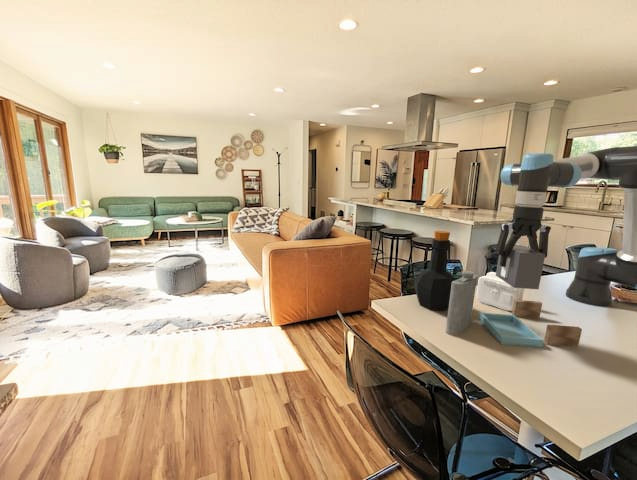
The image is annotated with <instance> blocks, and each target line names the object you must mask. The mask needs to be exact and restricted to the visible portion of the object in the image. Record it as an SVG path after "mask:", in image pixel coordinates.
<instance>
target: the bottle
mask: <svg viewBox="0 0 637 480" xmlns="http://www.w3.org/2000/svg"><path fill="white" fill-rule="evenodd" d="M450 235H451V231H449V230H448V231H445V230H434V238H433V239H432V241H431V247H432V248H433V249H432V253H431V256H430V265H429V269H426V270H424V271H421V272H420V273H419V274H418V275H417V276H416V277H415V279H414V283H413V284H414V285H413V286H414V291H415V293H416V298H417V302H418V304H419V306H420V307H423V308H425V309H427V310H431V311H437V312H438V311H439V312H444V311H446V310H447V311H448V309H449V301H450V293H451V285H452V281H455V280H456V279H455V277H454V276H453V274H452V272H450V271H448V270H447V266H448V249H450V247H451V240H450Z"/></svg>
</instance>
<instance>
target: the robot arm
mask: <svg viewBox="0 0 637 480" xmlns="http://www.w3.org/2000/svg"><path fill="white" fill-rule="evenodd" d="M586 179H594V180H595V179H596V180H597V179H598V180H607V181H608V180H612V181H616V180H617V181H618V187H619V189H621V190H623V192H624V193H623V195H624V196H623V221H622V222H623V223H622V224H623V225H622V247H621V248H622V249H621V250H619V249H616V248H609V247H598V246H597V247H595V246H591V247H590V246H589V247H582V248H581V249H580V251H579V254H578V256H577V258H578V259H577V262H576V263H577V264H576V269H575V274H574V277H573V278H574V279H572V281H571V283H570V284H569V286H568V287H567V289H566V290H565V295H566V297H568V298H569V299H571V300H574V301H576V302H579V303H583V304H587V305H593V306H597V307H599V306H600V307H609V306H612V304H613V297H612V292H611V290H612V289H611V282H612V283H615V284H618V285H622V286H626V287H630V288H634V289H635V290H637V145H631V146H621V147H620V146H618V147H610V148H604V149H599V150H594V151H589V152H582V153H580V154H578V155H576V156H572V157H565V158H556V159H554V155H553V154H552V153H547V152H546V153H543V152H542V153H541V152H539V153H537V152H536V153H527V154H525V155H523V157H522V161H521V163H511V164H506V165H505V166H504V167H503V168H502V169H501V172H500V181H501V182H502V183H503V184H504V185H506V186H512V187H514V186H517V189H516V190H517V191H516V195H515V200H514V204H515V206H513V207H514V208H513V212H512V220H511V221H510V223H501V224H500V234H499V237H498V241H497V243H496V248H495V251H494V253H495V254H496V255H498V256H499V255H500V256H501V260H500V266H502V270H501V276H503V277H504V278H507V276H508V270H509V264H510V258H509V257H508V256H509V254H510V252H511V251H512V249H513V247H514V246H515V245H517V242H518V240H520V239H521V237H527V239H528V243H529V248H530V249H533V250H536V251H539V252H541V253H544V254H545V259H546V258H547V257H548V248H549V234H550V232H551V230H552V227H551V226H550V225H549V226H548V225H543V224H542V219H543V215H544V210H545V208H544V207H543V206H545V205H546V199H547V194H548V193H547V192H548V188H549V187H550V188H562V189H564V188H569V187H573V186H575V185H576V184H578V183H579V181H580V180H586ZM511 229H512V232H511V233H510V230H511ZM538 231H539V237H538V234H537V232H538ZM509 234H510V237H509ZM508 237H509V239H508ZM505 244H506V245H505Z"/></svg>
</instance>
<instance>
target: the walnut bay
mask: <svg viewBox="0 0 637 480" xmlns="http://www.w3.org/2000/svg"><path fill="white" fill-rule="evenodd" d="M542 307H543V302H541V301H535V300H524V299H522V300H514V305H513V311H511V315H515V316H516V317H517V318H530V319H531V318H532V319H540V317H541V312H542ZM582 330H583V329H582V328H581V327H580V326H573V325H572V326H569V325H559V324H547V325H546V330H545V335H544V339H543V340H544V341H543V344H546V345H550V346H557V347H558V346H561V347H570V348H571V347H573V348H579V344H580V340H581V335H582V332H583V331H582Z"/></svg>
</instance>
